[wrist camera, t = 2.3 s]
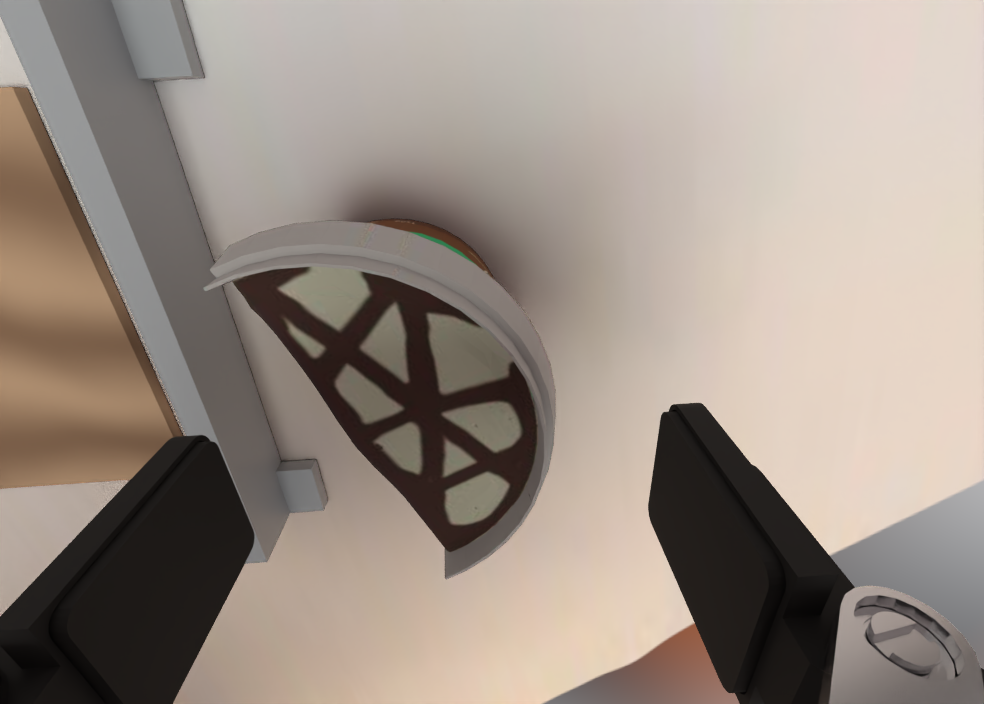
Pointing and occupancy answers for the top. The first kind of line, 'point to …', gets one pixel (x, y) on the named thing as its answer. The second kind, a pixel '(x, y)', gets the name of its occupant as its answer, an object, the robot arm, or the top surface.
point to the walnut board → (63, 330)
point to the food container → (413, 365)
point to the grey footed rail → (156, 226)
